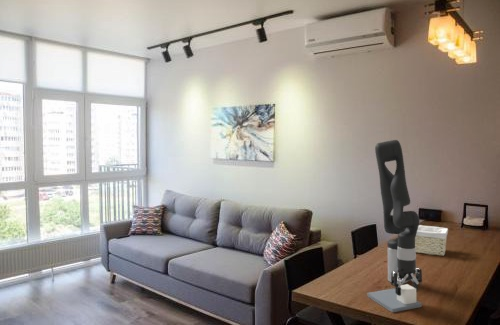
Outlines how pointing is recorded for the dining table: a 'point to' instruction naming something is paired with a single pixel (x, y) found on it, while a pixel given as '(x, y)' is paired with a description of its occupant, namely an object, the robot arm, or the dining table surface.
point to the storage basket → (431, 240)
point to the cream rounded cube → (407, 294)
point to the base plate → (391, 300)
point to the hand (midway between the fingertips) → (406, 293)
